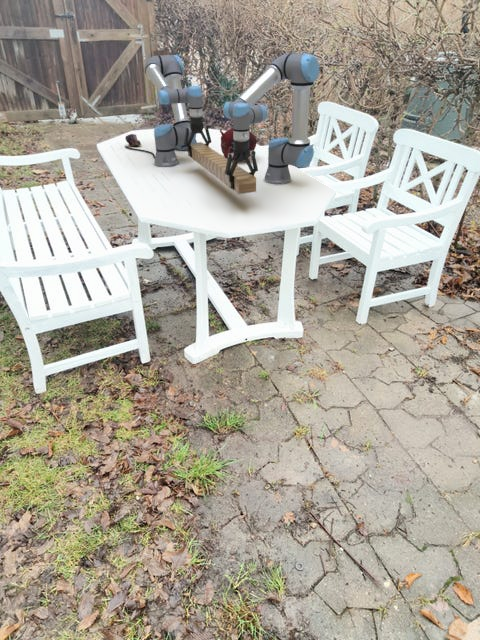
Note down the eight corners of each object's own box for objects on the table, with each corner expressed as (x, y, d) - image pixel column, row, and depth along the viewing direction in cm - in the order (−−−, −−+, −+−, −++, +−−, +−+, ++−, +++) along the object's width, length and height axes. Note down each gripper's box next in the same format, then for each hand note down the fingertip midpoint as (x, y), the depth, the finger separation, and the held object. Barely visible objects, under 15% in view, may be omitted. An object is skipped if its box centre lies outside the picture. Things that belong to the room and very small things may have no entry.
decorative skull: (217, 132, 305) (217, 129, 281) (251, 125, 304) (254, 121, 280) (224, 165, 312) (224, 164, 288) (257, 157, 311) (260, 156, 287)
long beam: (188, 155, 277) (187, 143, 273) (202, 153, 280) (201, 142, 276) (238, 194, 216) (238, 179, 212) (256, 191, 219) (256, 177, 215)
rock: (137, 145, 340) (124, 146, 336) (136, 133, 337) (122, 134, 332) (142, 146, 331) (129, 147, 327) (140, 133, 327) (127, 134, 323)
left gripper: (180, 119, 253) (183, 159, 266) (216, 115, 261) (217, 155, 274) (176, 116, 259) (179, 156, 272) (211, 113, 267) (213, 152, 279)
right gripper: (222, 144, 204) (223, 192, 216) (265, 139, 211) (264, 186, 224) (216, 140, 209) (218, 188, 222) (259, 135, 216) (258, 182, 229)
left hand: (198, 156), depth 273 cm, fingers closed on long beam, 9 cm apart
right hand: (241, 187), depth 223 cm, fingers closed on long beam, 9 cm apart
